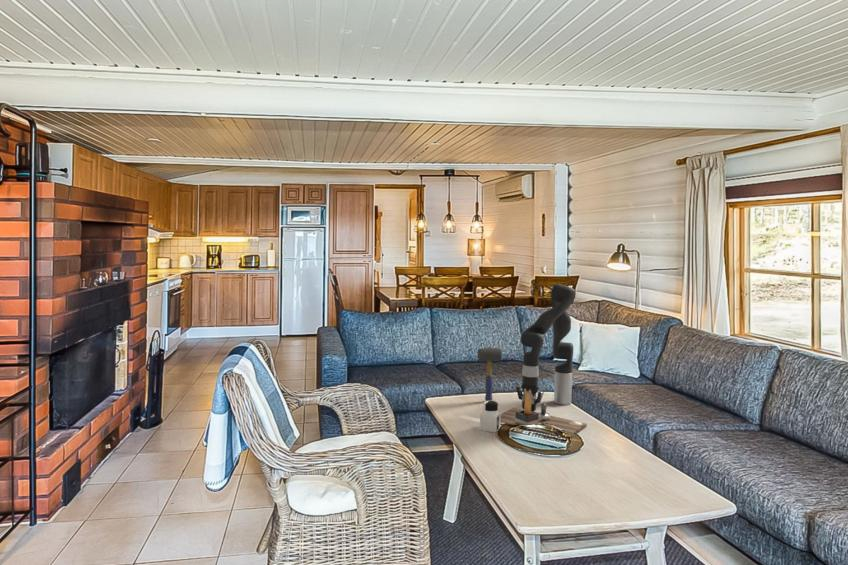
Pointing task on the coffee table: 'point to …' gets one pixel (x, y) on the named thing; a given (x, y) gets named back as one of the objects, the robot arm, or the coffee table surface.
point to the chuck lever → (532, 416)
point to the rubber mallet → (489, 366)
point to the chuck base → (562, 423)
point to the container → (490, 417)
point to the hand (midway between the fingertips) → (528, 409)
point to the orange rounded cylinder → (527, 404)
